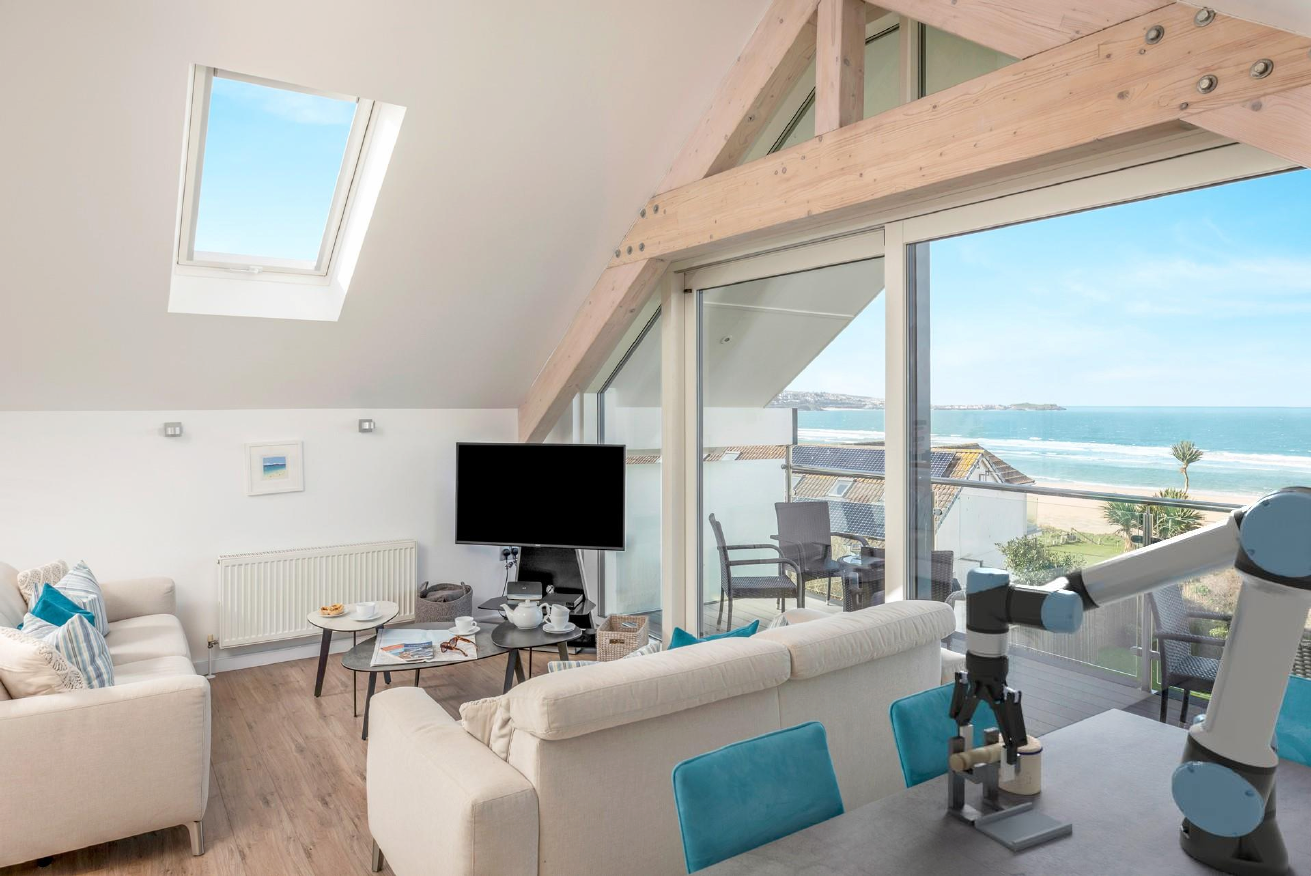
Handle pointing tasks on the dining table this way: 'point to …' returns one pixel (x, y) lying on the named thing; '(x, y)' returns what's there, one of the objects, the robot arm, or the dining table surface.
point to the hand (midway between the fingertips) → (986, 769)
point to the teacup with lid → (1026, 769)
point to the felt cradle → (1021, 826)
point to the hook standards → (976, 780)
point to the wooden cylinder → (976, 757)
